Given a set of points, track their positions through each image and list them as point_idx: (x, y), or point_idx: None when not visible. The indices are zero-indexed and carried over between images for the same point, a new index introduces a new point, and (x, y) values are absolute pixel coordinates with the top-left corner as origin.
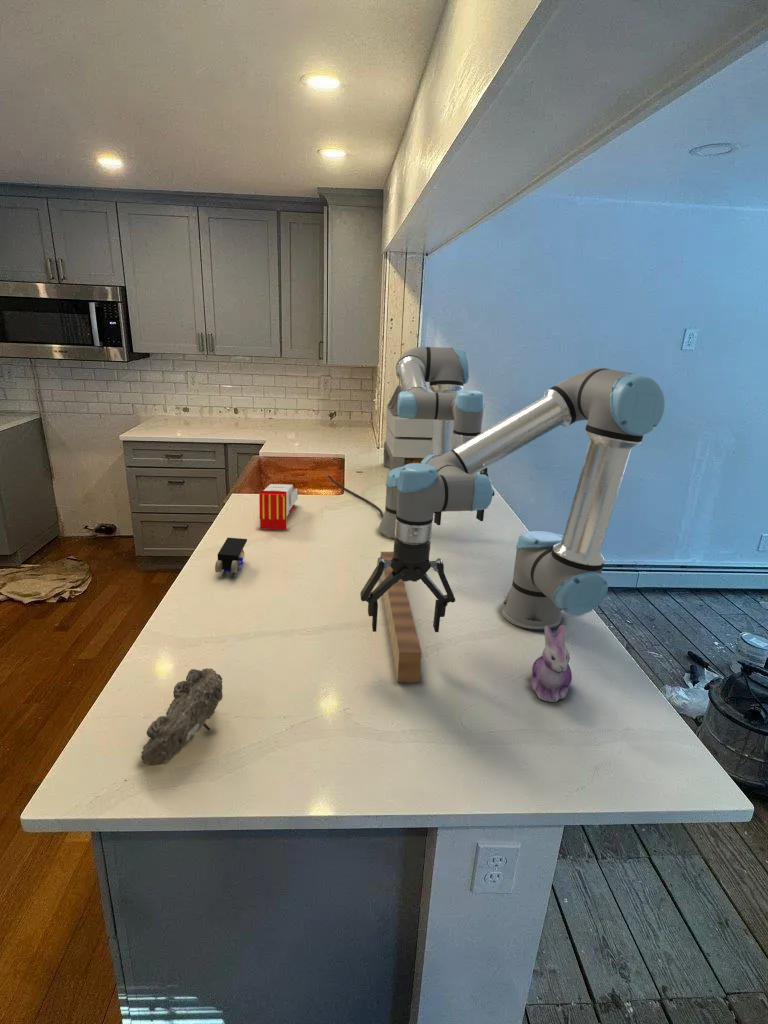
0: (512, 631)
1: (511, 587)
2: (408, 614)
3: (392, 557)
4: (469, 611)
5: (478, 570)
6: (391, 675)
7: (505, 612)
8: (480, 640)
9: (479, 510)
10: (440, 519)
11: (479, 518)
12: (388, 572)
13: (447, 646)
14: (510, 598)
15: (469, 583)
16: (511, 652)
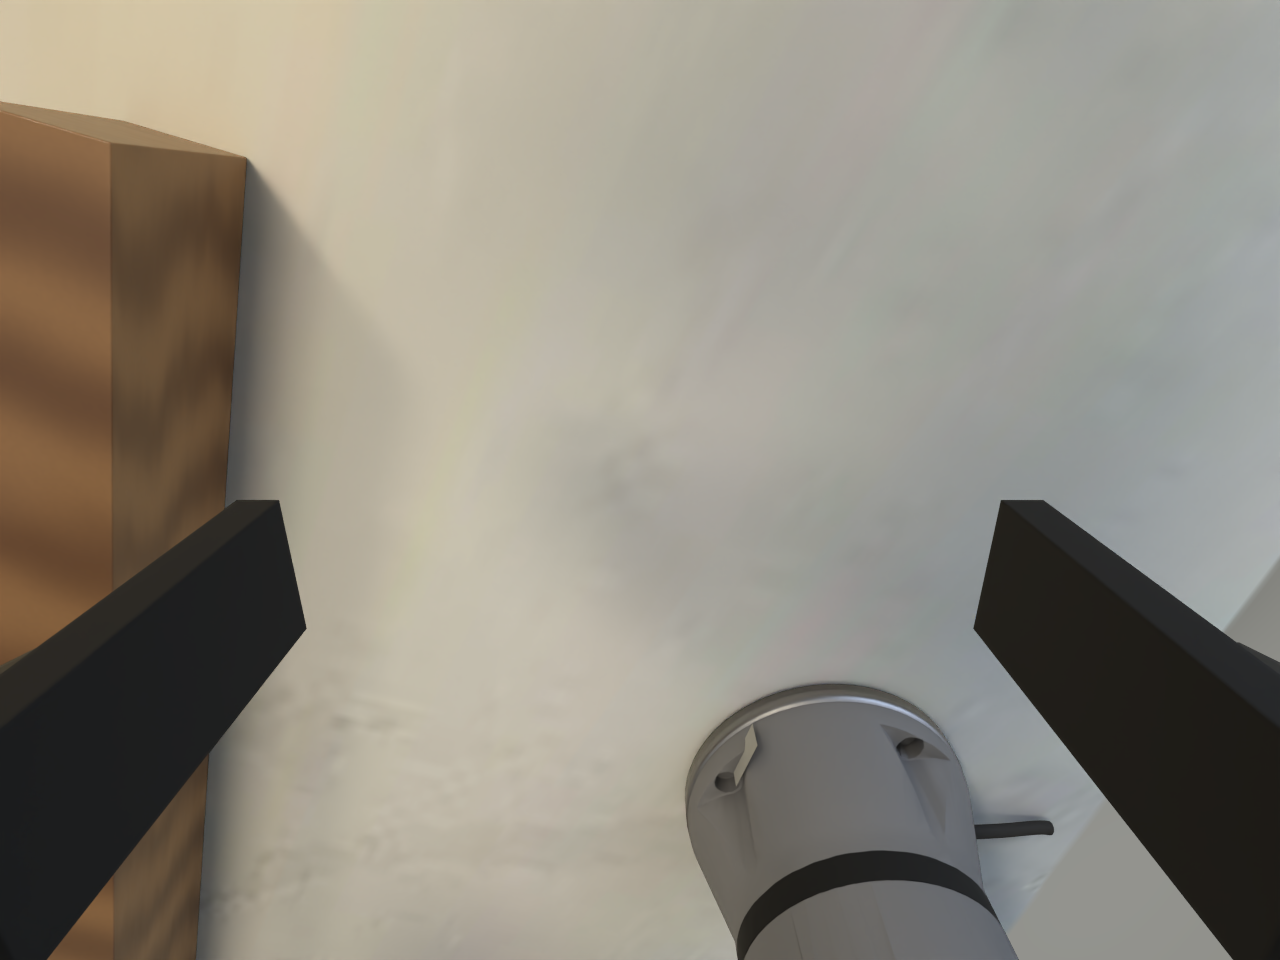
0: (660, 855)
1: (756, 869)
2: (94, 944)
3: (57, 271)
4: (557, 693)
5: (894, 271)
6: None
7: (689, 807)
8: (497, 870)
9: (1076, 662)
10: (251, 689)
11: (996, 603)
12: (7, 526)
13: (350, 870)
14: (717, 867)
15: (718, 434)
16: (575, 944)
